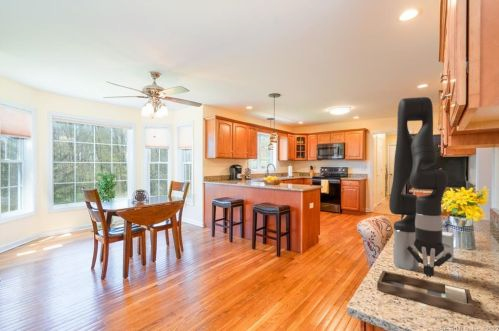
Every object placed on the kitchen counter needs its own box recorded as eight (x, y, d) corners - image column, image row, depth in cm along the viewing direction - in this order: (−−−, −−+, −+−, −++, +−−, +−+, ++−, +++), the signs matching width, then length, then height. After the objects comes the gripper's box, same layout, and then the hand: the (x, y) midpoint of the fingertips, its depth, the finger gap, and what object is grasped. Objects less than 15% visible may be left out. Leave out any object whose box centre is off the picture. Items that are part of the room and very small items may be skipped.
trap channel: (377, 292, 88) (377, 282, 88) (383, 280, 97) (382, 270, 97) (474, 319, 72) (473, 306, 72) (469, 301, 82) (469, 289, 82)
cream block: (445, 303, 79) (445, 291, 79) (445, 296, 83) (445, 285, 83) (466, 309, 76) (466, 296, 76) (464, 301, 80) (464, 289, 80)
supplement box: (432, 258, 119) (432, 232, 119) (435, 254, 124) (434, 229, 124) (452, 262, 113) (451, 235, 113) (454, 258, 118) (453, 232, 118)
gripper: (452, 227, 82) (452, 277, 83) (406, 221, 90) (407, 267, 91) (453, 232, 76) (454, 286, 77) (404, 226, 84) (405, 274, 85)
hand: (428, 275), depth 84 cm, fingers closed
